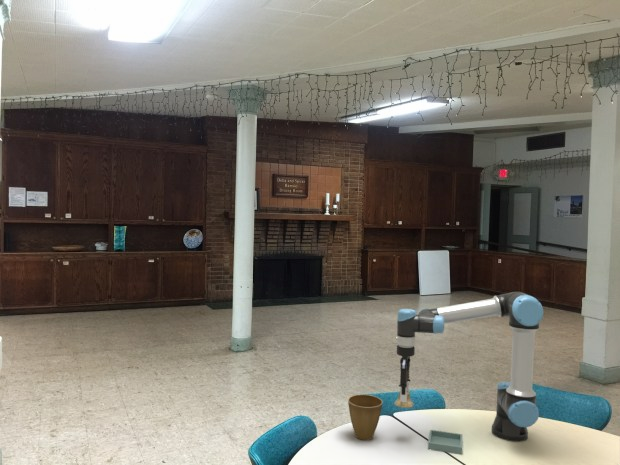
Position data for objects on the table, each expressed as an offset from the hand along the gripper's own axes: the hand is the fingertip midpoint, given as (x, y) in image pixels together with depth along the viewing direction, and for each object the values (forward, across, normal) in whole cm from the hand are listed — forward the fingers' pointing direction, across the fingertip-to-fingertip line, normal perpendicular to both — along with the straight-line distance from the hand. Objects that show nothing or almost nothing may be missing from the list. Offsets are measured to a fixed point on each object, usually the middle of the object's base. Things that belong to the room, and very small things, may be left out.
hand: (404, 398), depth 220 cm
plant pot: (+18, +3, -16) cm, 24 cm away
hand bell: (+3, 0, 0) cm, 3 cm away
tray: (+18, -1, +18) cm, 25 cm away
